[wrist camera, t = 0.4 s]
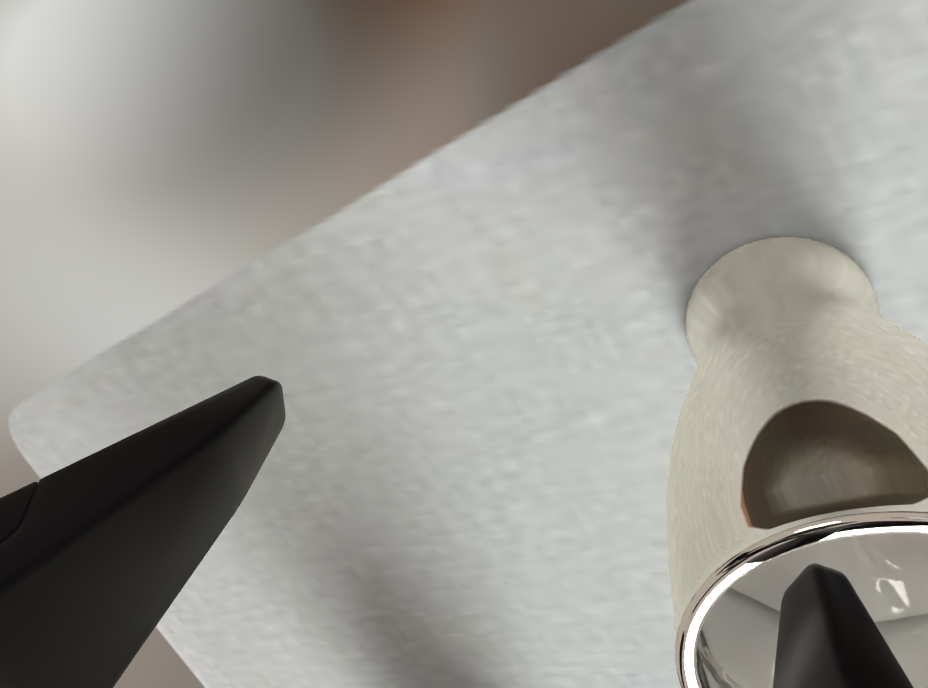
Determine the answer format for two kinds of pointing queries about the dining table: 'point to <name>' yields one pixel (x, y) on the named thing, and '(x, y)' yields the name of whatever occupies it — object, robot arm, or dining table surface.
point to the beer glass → (795, 460)
